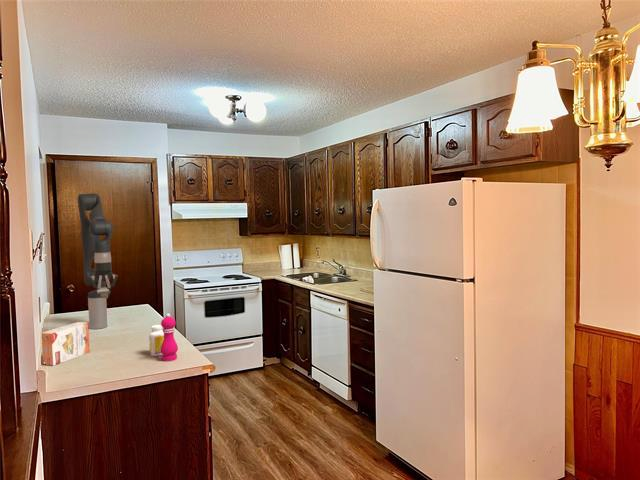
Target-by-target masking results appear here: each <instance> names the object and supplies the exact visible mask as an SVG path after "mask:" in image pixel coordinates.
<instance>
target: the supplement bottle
mask: <svg viewBox="0 0 640 480" xmlns="http://www.w3.org/2000/svg"><path fill="white" fill-rule="evenodd" d="M150 329H151V331H150V332H149V336H148V337H149V355H150V356H152V357H159V356H162V355H163V354H162V353H161V351H160V350H161V345H162V343H163V340H164V332H163V330H162V329H163V327H162V326H161V324H156V325H151V328H150Z"/></svg>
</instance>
